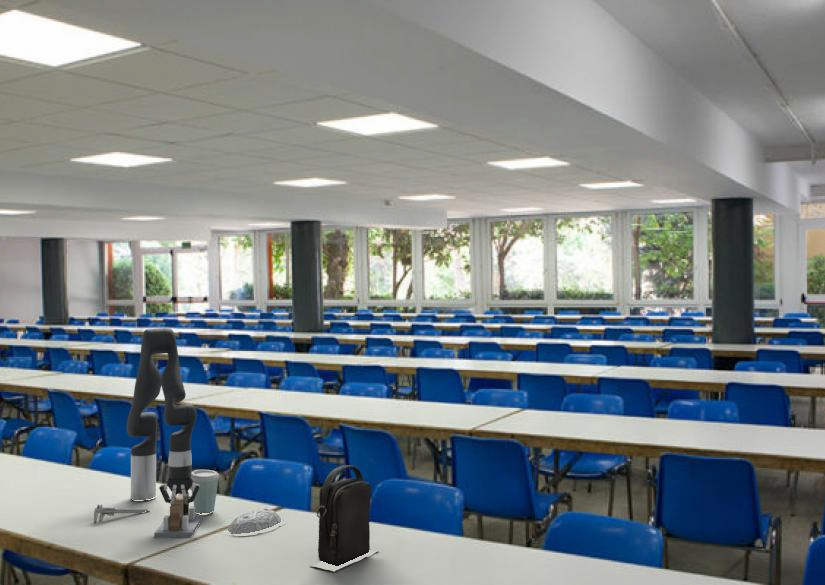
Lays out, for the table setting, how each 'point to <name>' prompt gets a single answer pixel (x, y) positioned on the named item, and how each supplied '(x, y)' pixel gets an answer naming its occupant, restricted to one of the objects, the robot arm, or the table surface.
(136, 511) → the caliper
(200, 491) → the disposable coffee cup
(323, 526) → the shoulder bag
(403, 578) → the table surface
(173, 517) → the cabinet door
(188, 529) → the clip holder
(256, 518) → the oval brooch
